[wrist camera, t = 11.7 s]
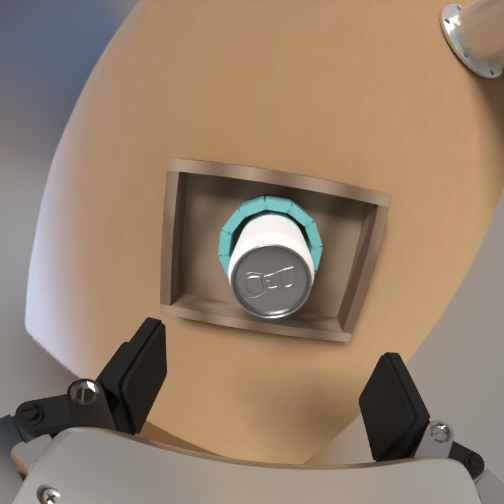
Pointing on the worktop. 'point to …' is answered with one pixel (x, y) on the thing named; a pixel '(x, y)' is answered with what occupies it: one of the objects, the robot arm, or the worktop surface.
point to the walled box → (216, 216)
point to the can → (271, 266)
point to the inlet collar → (276, 205)
